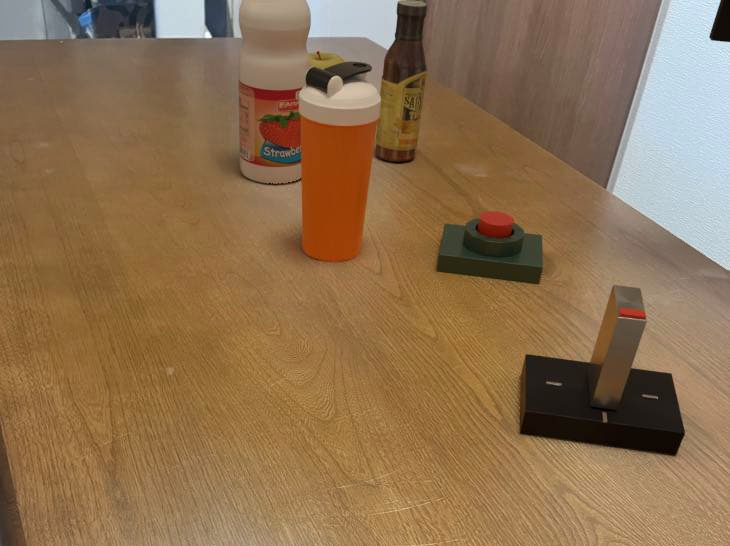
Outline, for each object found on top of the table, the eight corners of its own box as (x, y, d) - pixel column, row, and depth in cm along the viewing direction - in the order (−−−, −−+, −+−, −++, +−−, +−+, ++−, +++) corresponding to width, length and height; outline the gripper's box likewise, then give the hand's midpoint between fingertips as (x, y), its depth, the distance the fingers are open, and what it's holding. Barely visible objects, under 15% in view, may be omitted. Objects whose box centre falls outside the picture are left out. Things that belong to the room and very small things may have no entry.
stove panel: (663, 394, 85) (672, 371, 84) (676, 456, 78) (686, 432, 76) (520, 375, 87) (526, 351, 85) (519, 434, 79) (525, 410, 77)
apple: (292, 93, 149) (294, 41, 144) (349, 97, 149) (352, 45, 144) (288, 112, 142) (289, 57, 136) (348, 116, 142) (351, 62, 136)
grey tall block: (586, 372, 83) (613, 281, 77) (612, 375, 83) (641, 285, 76) (590, 407, 79) (618, 314, 72) (616, 410, 78) (648, 318, 72)
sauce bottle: (403, 167, 126) (420, 11, 113) (366, 157, 129) (379, 2, 115) (423, 154, 131) (442, 2, 117) (387, 145, 133) (402, -5, 119)
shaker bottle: (383, 250, 106) (401, 70, 92) (334, 273, 101) (346, 85, 87) (328, 227, 110) (337, 51, 96) (279, 248, 105) (281, 65, 91)
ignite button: (511, 227, 104) (514, 213, 103) (510, 241, 101) (513, 227, 100) (478, 223, 104) (480, 209, 103) (476, 237, 101) (479, 223, 100)
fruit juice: (273, 155, 127) (276, -77, 108) (320, 174, 123) (331, -64, 104) (225, 170, 122) (219, -71, 103) (272, 191, 118) (275, -57, 98)
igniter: (538, 251, 108) (545, 220, 105) (538, 284, 101) (546, 252, 99) (442, 240, 109) (446, 208, 106) (436, 272, 102) (441, 239, 100)
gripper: (763, -270, 80) (679, 21, 96) (794, -271, 71) (695, 52, 87) (848, -264, 79) (748, 28, 95) (891, -265, 70) (773, 60, 86)
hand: (723, 39), depth 91 cm, fingers closed
